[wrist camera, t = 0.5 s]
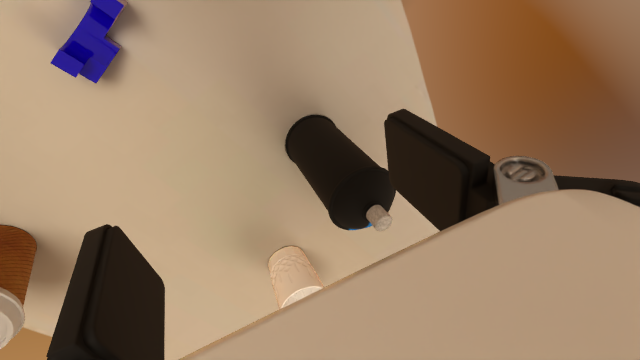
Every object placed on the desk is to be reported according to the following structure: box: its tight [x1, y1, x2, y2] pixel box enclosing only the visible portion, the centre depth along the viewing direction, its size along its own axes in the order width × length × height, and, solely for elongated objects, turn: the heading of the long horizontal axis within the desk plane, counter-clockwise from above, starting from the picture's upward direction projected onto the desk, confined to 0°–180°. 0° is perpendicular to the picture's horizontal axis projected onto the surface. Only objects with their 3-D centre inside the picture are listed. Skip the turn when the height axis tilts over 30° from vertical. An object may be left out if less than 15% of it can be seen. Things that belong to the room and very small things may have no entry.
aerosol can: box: [285, 115, 396, 231], centre depth 39 cm, size 8×8×20 cm
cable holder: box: [51, 0, 128, 83], centre depth 30 cm, size 8×4×4 cm, turn 137°
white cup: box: [268, 246, 324, 309], centre depth 54 cm, size 8×8×10 cm
